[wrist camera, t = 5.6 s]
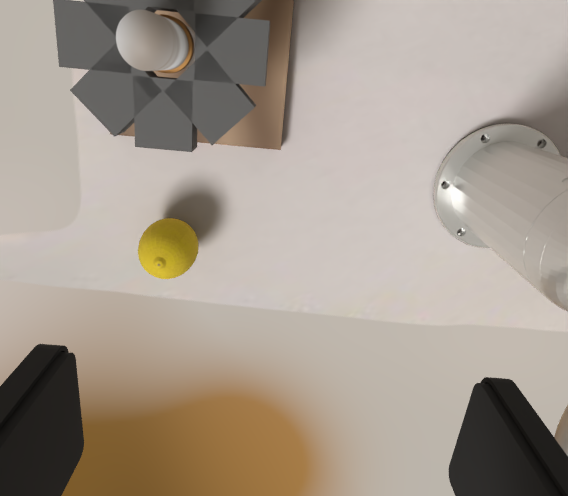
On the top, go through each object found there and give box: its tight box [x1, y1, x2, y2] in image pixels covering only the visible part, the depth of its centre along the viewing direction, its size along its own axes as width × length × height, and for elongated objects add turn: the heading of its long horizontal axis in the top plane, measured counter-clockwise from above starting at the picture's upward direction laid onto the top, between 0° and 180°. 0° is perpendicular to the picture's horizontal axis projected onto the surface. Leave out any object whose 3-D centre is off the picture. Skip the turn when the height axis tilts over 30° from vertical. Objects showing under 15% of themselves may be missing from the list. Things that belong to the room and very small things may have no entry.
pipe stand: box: [110, 0, 294, 150], centre depth 33 cm, size 16×16×18 cm
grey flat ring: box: [53, 0, 270, 152], centre depth 29 cm, size 13×13×2 cm
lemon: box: [138, 218, 198, 279], centre depth 44 cm, size 6×6×8 cm
